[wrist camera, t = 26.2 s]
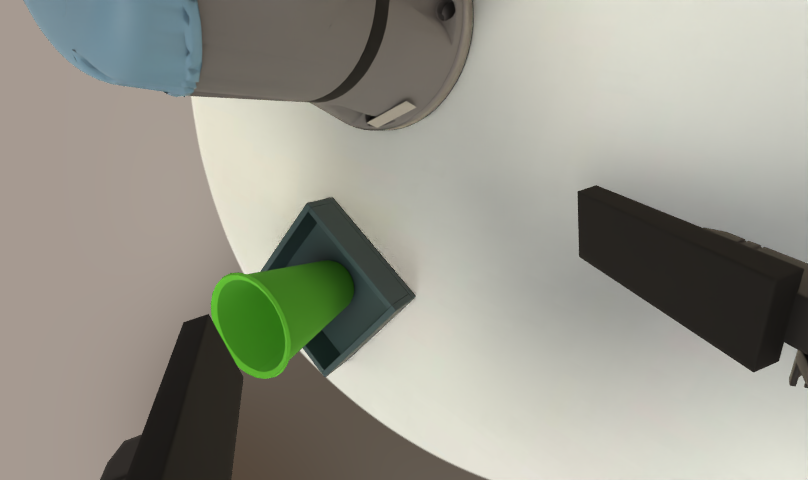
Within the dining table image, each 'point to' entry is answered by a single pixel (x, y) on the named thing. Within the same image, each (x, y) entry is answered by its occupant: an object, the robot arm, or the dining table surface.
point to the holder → (372, 276)
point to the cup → (277, 312)
